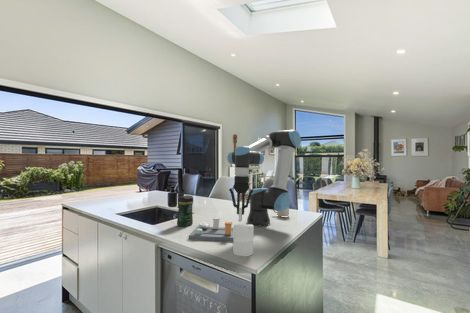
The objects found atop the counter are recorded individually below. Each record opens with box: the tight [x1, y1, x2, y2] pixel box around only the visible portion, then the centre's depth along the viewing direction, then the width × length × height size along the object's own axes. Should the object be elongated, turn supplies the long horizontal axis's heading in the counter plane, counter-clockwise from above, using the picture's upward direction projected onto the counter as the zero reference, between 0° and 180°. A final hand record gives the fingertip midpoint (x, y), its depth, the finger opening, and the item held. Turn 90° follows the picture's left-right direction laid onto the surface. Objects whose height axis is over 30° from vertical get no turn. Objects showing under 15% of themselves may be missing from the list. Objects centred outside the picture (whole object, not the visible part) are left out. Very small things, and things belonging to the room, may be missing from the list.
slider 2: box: [224, 221, 233, 235], centre depth 125 cm, size 3×3×6 cm
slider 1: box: [212, 216, 221, 229], centre depth 135 cm, size 3×3×6 cm
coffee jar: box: [176, 194, 194, 228], centre depth 150 cm, size 10×8×19 cm
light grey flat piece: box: [198, 220, 211, 229], centre depth 136 cm, size 5×7×1 cm
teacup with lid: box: [272, 205, 290, 217], centre depth 179 cm, size 12×9×12 cm
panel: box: [188, 225, 234, 243], centre depth 131 cm, size 24×18×4 cm
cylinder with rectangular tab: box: [232, 223, 255, 257], centre depth 107 cm, size 9×9×12 cm
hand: (240, 220), depth 125 cm, fingers closed
